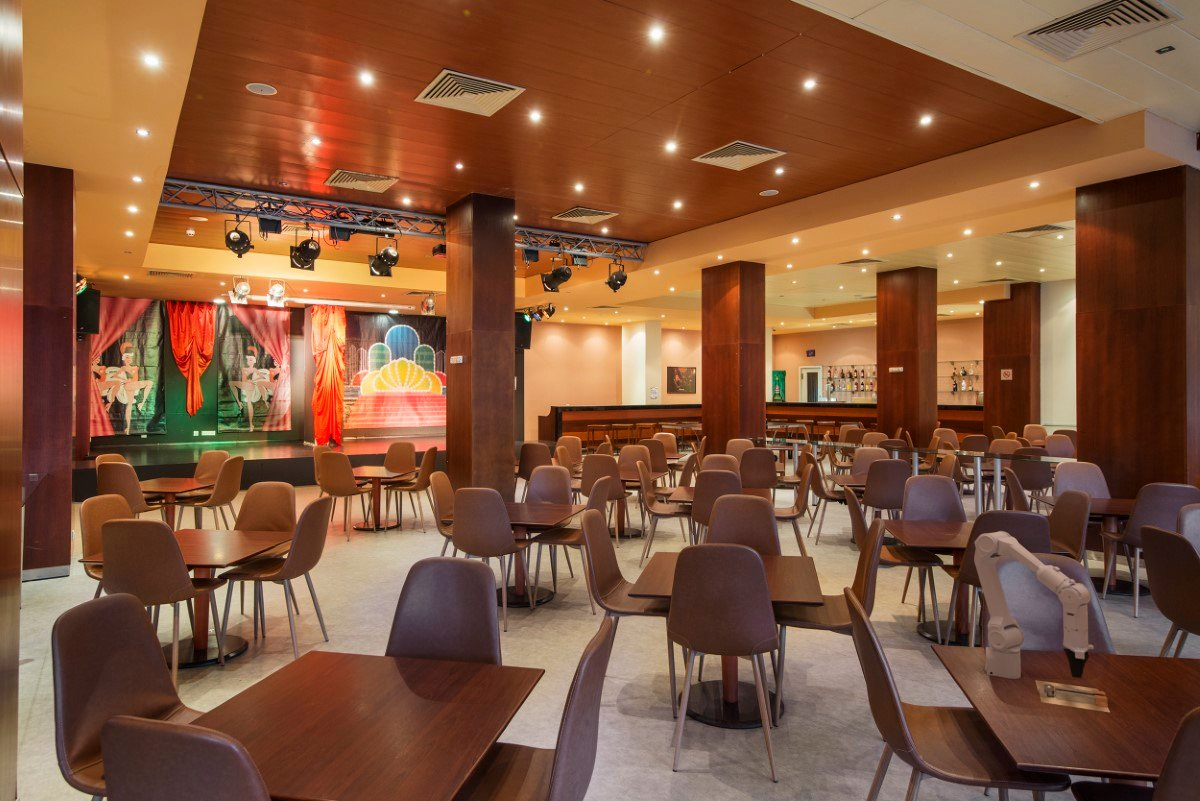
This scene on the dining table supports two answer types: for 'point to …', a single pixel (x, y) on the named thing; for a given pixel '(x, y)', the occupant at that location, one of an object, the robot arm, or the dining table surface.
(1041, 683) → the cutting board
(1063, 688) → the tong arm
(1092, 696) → the tongs fixed
